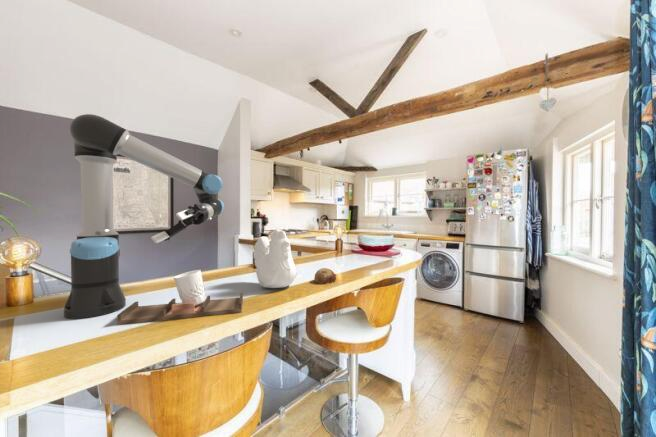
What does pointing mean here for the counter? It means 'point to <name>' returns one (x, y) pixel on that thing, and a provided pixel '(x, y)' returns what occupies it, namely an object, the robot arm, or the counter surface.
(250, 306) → the counter surface
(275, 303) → the counter surface
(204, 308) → the brown compartment tray
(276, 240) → the decorative rooster
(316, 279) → the bread roll
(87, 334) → the counter surface
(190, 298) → the white cup
